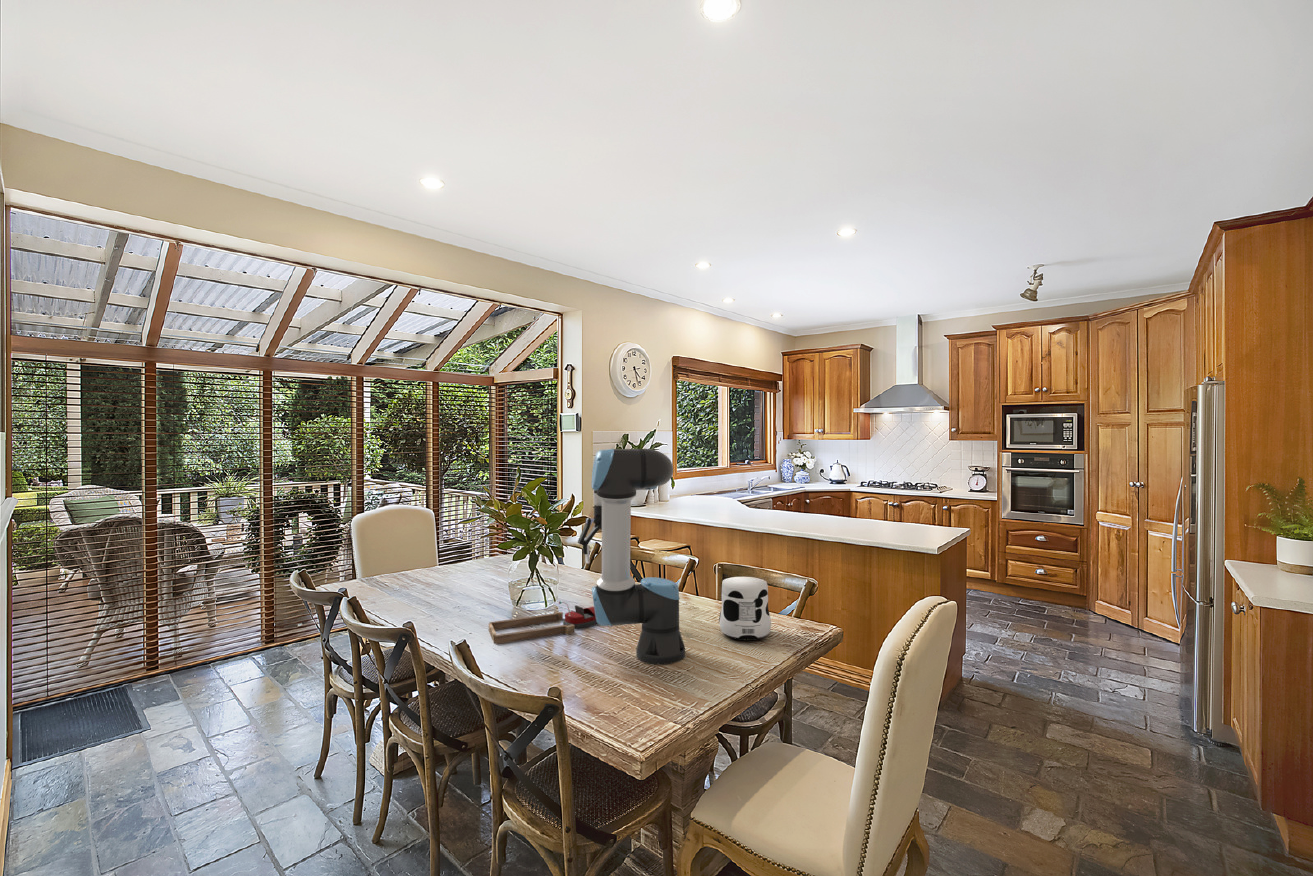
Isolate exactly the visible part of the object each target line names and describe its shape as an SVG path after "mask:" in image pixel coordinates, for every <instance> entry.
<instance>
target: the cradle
mask: <svg viewBox="0 0 1313 876" xmlns="http://www.w3.org/2000/svg"><path fill="white" fill-rule="evenodd" d="M563 619H564V613H563V611H554V612H553V613H549V614H548V613H547V614H541V615H534V616H532V615H531V616H525V617H519V618H517V617H516V618H511V619H503V620H497V621H489V623H488V632H489V635H490V637H491V640H492V641H493V644H496V645H499V644H500V645H501V644H506V643H512V642H519V641H524V640H530V639H539V638H547V637H552V636H558V635H571V634H574V633H576V632H575V631H576V629H575V625H572V624H571V625H568V626H567V625H563V624H562V625H555V626H548V627H542V628H534V629H528V630H522V631H514V632H507V633H501V634H497V632H496V630H503V629H511V628H518V627H524V626H530V625H531V626H532V625H538V624H545V623H552V622H558V621H563Z"/></svg>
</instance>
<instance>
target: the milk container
mask: <svg viewBox="0 0 1313 876" xmlns="http://www.w3.org/2000/svg"><path fill="white" fill-rule="evenodd" d="M768 586H769V585H768V582H767V581H766V580H765V579H762V578H758V577H754V576H753V577H752V576H733V577H729V578H724V579H723V580H722V584H721V609H720V612H719V618H718V621H719V623H718V624H719V627H720V631H721V633H722V634H724V635H725V637H728V638H730V639H734V640H740V641H755V640H761V639H763V638H765V637H767V636H768V635H769V634H770V632H771V627H772V619H771V614H770V611H769V587H768Z"/></svg>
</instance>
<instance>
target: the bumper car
mask: <svg viewBox="0 0 1313 876" xmlns="http://www.w3.org/2000/svg"><path fill="white" fill-rule="evenodd" d="M558 604H559V605H561V604H565V605H566V606H567V607H566V608H567V609H568V612H565V614H564V620H563V622H562V625H567V626H568V625H571V624H572V625H575V630H581V629H585V628H589V627H590V628H591V627H593V626H597V625H599V624H598V623H597V621H596V616H595V609H594V606H590V607H582V606H579V605H576V604H575V605H574V610H575V611H573V610H571V611H570V607H569V605H568V604H567V602H565V601H561V600H560V601H558Z"/></svg>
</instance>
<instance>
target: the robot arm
mask: <svg viewBox="0 0 1313 876" xmlns="http://www.w3.org/2000/svg"><path fill="white" fill-rule="evenodd" d="M673 465H674V464H673V461H671V459H670V457H668V455H666V454H665V453H663V452H661V451H658V450H657V449H653V448H609V449H600V450H598V451H597V452H596V453H595V456H594V459H593V466H592V470H591V473H592V474H591V488H592V490H593V504H594V505H593V518H589V517H587V518H585V524H584V526H583V529H582V531H581V533H580V536H579V537H578V540H577V543H578V544H579V545H581V546H582V554H584V556H585V558H584V563H586V564H590V563H591V562H590V560H591V558H590V542H591V540H592V539H593V538H594V537H595V535H596V533H597V532H599V531H600V530H601V576H599V578H598V579H597V580H596V586H595V585H594V586H593V587H591V594H592V601H593V607H594V609H595V616H596V621H597V623H598V624H597V625H598V626H600V627H601V626H602V627H609V626H610V627H613V626H614V627H615V626H625V625H636V624H637V625H638V624H641V632H640V635H639V637H638V641H637V644H636V648H635V650H636V651H635V653H636V655H635V656H636V658H637V659H638V660H639V661H640V662H643V663H646V664H650V665H670V664H674V663H679V662H680V661H682V660H683V659H685V657H686V647H685V643H684V640H683V637H682V634H681V632H680V599H681V598H680V591H679V590H680V589H679V586H678V584H677V583H676V582H674V581H673V580H671V579H670V580H669V579H668V578H662V577H651V576H649V577H644V578H642V579H641V580H640V583H638V584H637V583H636V580H635V579H634V577H633V576H631V539H632V537H631V534H632V533H631V523H632V522H631V519H632V518H631V515H632V507H631V506H632V500H634V498H635V497H637V490H638V491H639V490H640V491H642V490H643V491H644V490H645V491H649V490H656V489H657V488H658V487H660V486H664V485H666V484H667V483H668V482H670V481H671V479H672V477H673V474H674V466H673ZM592 524H594V525H593V526H592V529H591V531H590V528H591V525H592ZM588 532H589V533H588Z"/></svg>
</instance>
